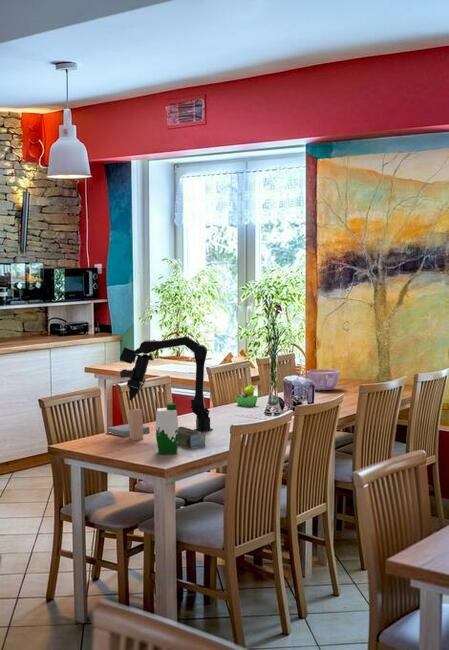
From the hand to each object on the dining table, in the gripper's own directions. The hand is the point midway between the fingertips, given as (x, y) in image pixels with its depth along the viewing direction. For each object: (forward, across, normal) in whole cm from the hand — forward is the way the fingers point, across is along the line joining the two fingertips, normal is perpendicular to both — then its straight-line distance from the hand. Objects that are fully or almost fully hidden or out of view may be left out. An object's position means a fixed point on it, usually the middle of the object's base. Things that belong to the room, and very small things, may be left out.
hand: (131, 398), depth 411 cm
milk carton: (+8, +48, +25) cm, 54 cm away
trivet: (+15, +4, +3) cm, 16 cm away
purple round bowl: (-14, -124, +98) cm, 158 cm away
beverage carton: (+7, +31, +31) cm, 45 cm away
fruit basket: (-1, -71, +55) cm, 89 cm away
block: (+13, +18, +9) cm, 24 cm away
